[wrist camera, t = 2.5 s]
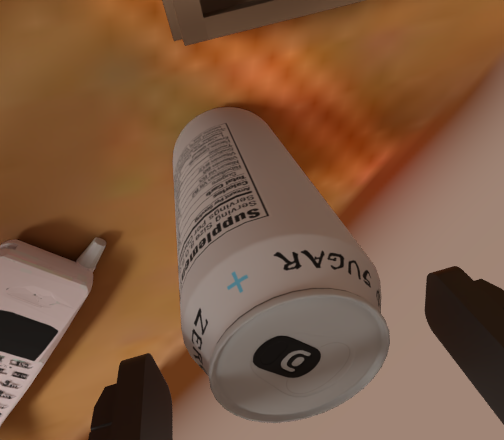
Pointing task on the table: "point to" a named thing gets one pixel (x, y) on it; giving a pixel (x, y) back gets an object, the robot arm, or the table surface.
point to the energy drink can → (269, 276)
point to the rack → (235, 15)
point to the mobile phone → (37, 309)
